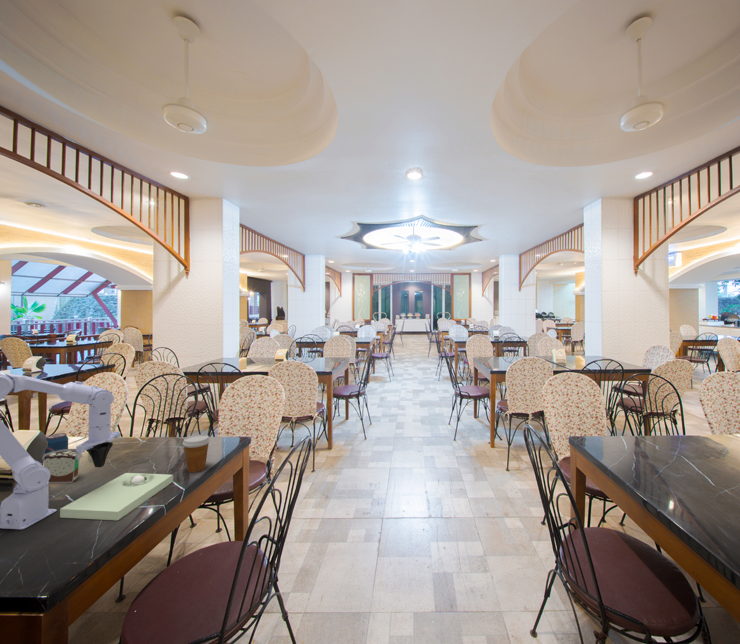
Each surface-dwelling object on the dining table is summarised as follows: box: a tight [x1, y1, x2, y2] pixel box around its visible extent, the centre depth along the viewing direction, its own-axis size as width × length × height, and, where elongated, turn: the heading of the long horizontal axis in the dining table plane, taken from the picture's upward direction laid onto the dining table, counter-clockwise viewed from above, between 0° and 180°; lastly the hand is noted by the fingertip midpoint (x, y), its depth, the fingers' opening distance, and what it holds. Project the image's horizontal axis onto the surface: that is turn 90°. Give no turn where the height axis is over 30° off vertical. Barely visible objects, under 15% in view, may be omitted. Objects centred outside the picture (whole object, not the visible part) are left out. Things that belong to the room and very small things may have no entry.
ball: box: [131, 475, 145, 484], centre depth 117 cm, size 4×4×4 cm
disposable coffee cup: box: [182, 434, 211, 473], centre depth 132 cm, size 10×10×12 cm
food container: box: [41, 448, 83, 484], centre depth 123 cm, size 12×6×10 cm, turn 92°
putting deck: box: [59, 472, 174, 521], centre depth 110 cm, size 24×18×2 cm
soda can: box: [43, 432, 69, 455], centre depth 134 cm, size 7×7×12 cm
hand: (99, 466), depth 112 cm, fingers closed
